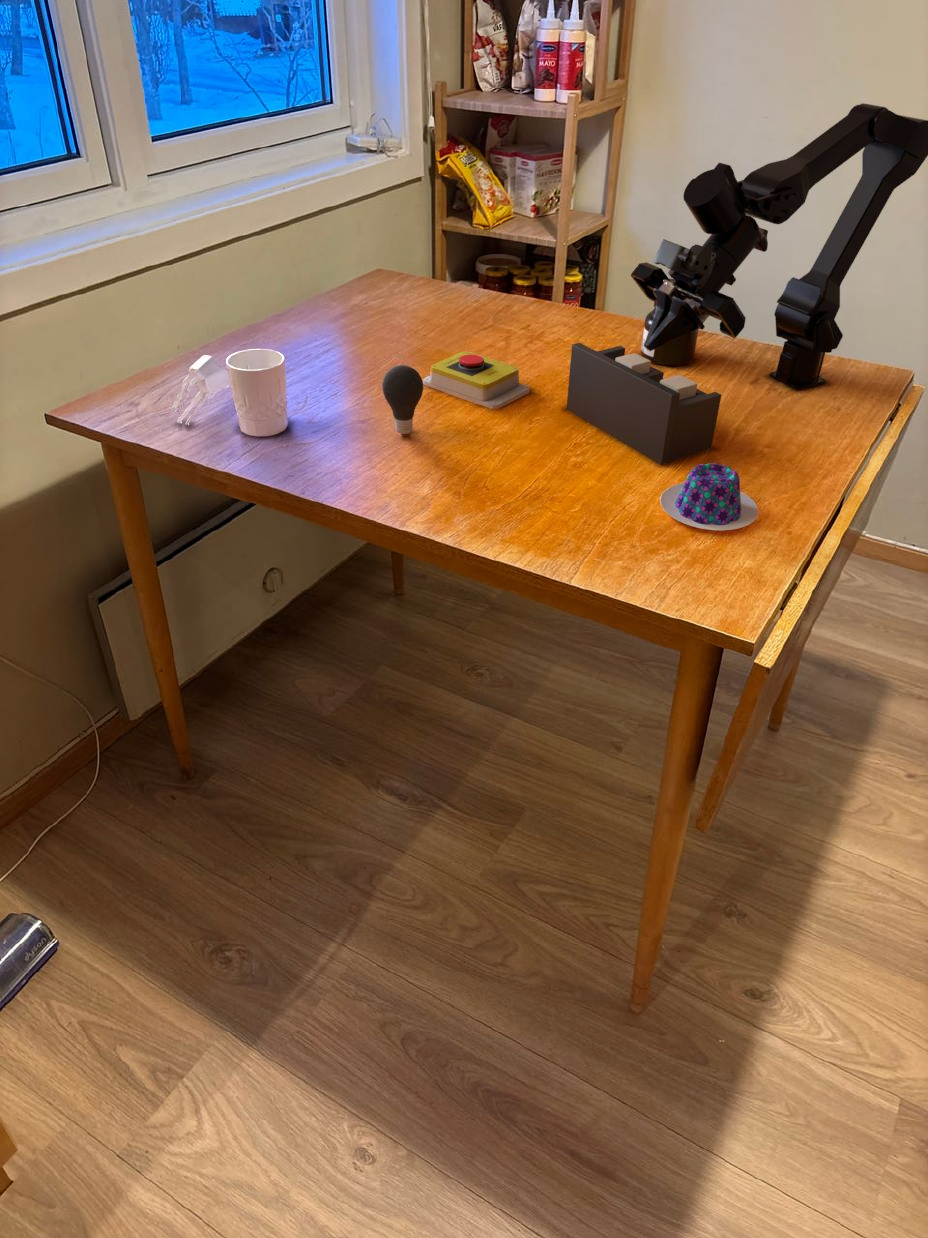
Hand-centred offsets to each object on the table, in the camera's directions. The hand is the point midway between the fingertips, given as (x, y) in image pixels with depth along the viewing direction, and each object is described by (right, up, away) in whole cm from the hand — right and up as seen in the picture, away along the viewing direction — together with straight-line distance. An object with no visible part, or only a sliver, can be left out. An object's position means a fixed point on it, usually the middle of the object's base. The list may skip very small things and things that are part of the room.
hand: (646, 348), depth 128 cm
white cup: (-54, -10, +4) cm, 55 cm away
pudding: (+5, -24, -13) cm, 28 cm away
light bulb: (-34, -12, +3) cm, 36 cm away
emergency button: (-24, -2, +16) cm, 28 cm away
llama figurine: (-62, -5, +10) cm, 63 cm away
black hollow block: (0, -10, +5) cm, 11 cm away
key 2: (+4, -7, -1) cm, 8 cm away
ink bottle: (+9, +6, +27) cm, 29 cm away
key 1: (-1, -2, +5) cm, 6 cm away
